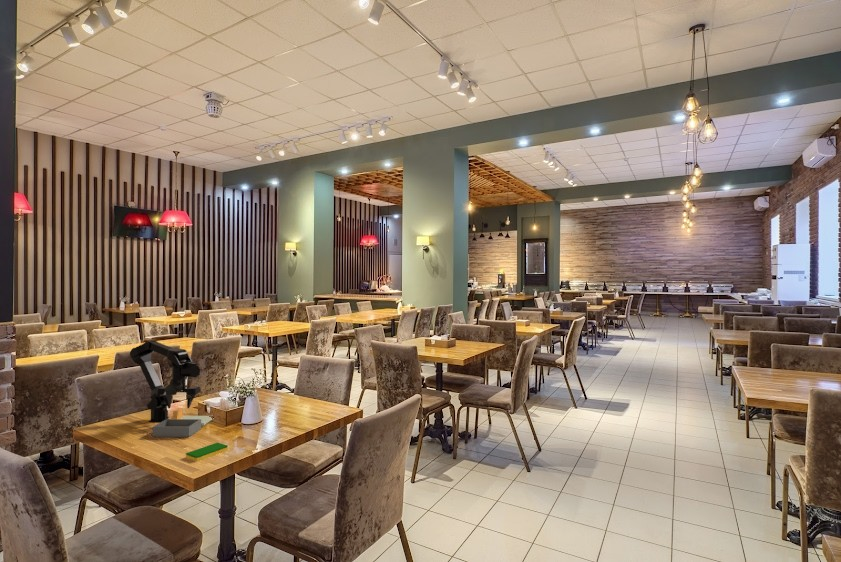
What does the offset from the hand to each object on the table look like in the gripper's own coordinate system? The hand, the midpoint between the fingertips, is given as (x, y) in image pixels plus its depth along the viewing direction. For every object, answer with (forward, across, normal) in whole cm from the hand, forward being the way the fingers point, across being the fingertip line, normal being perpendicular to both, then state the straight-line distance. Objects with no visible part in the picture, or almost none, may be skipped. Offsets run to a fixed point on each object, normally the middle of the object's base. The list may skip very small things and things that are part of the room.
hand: (178, 408), depth 217 cm
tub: (+7, +7, -14) cm, 17 cm away
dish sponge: (+8, +32, -38) cm, 50 cm away
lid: (+7, +7, 0) cm, 10 cm away
